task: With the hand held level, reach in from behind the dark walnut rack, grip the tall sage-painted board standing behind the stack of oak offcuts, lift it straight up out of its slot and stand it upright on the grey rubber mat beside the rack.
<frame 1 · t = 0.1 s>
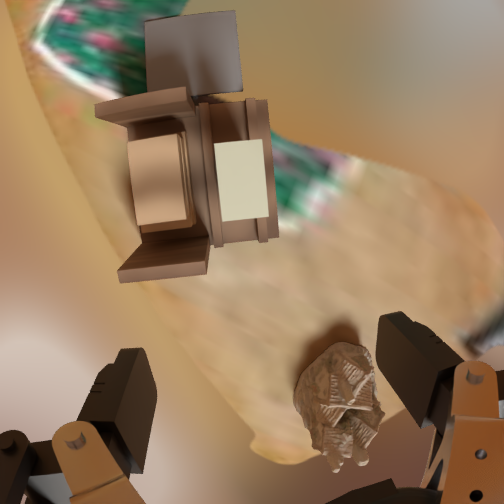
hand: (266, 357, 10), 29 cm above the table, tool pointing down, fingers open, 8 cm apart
oak offcut stack: (167, 180, 35), point 1 cm above the table, touching walnut rack
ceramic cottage: (341, 386, 48), on the table
grey mat: (192, 54, 33), on the table
walnut rack: (202, 175, 37), on the table
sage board: (233, 172, 36), point 1 cm above the table, touching walnut rack
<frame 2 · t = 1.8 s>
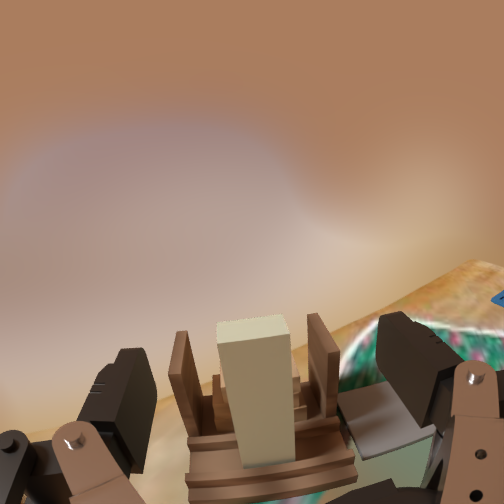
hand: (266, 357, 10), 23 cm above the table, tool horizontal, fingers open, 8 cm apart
oak offcut stack: (259, 411, 35), point 1 cm above the table, touching walnut rack
grey mat: (389, 414, 32), on the table
walnut rack: (264, 443, 31), on the table
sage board: (268, 458, 28), point 1 cm above the table, touching walnut rack
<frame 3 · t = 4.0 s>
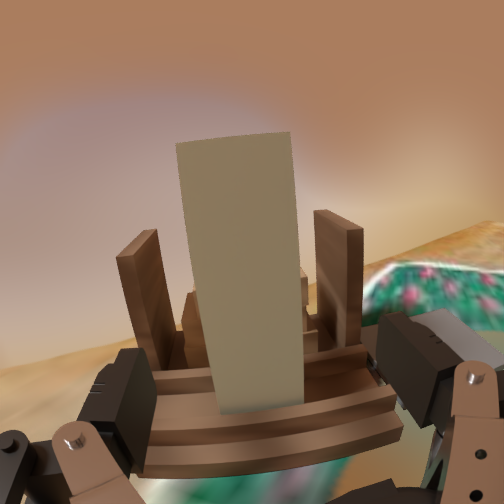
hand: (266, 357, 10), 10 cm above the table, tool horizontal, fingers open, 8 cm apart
oak offcut stack: (250, 346, 27), point 1 cm above the table, touching walnut rack
grey mat: (429, 352, 24), on the table
walnut rack: (257, 389, 23), on the table
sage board: (261, 405, 19), point 1 cm above the table, touching walnut rack
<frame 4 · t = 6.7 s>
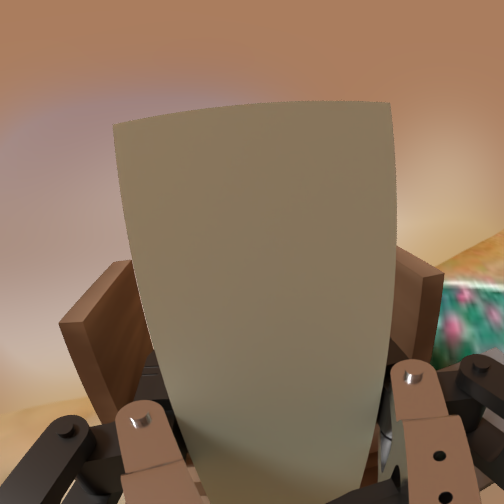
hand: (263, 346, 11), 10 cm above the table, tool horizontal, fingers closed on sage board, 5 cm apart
grey mat: (486, 411, 16), on the table
walnut rack: (276, 480, 15), on the table
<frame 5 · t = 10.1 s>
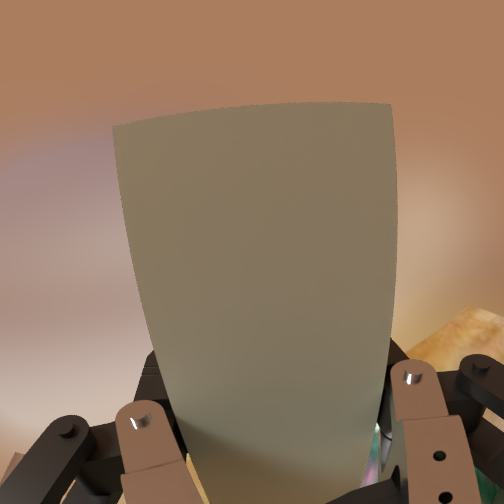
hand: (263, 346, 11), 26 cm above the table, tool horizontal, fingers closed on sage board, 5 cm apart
when the fingers open (10 cm above the table, at t = 13.9 s): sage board stays where it is, resting on grey mat.
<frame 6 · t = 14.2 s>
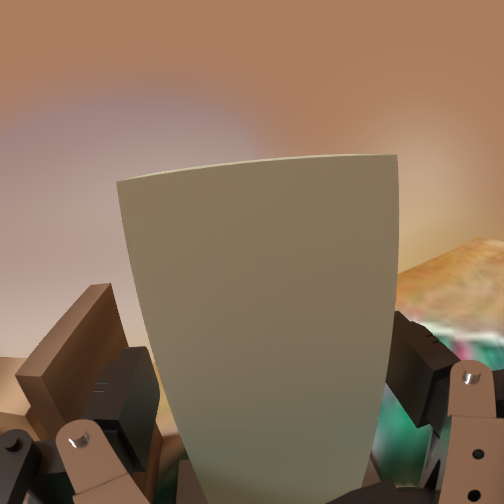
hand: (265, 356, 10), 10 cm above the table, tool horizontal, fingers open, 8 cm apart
oak offcut stack: (37, 457, 14), point 1 cm above the table, touching walnut rack
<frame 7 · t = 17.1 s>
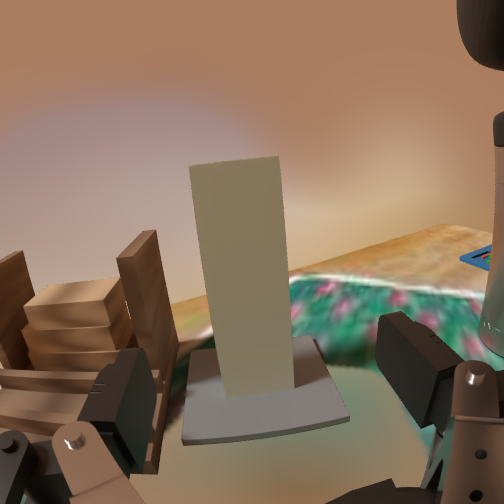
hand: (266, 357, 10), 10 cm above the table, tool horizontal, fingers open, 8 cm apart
oak offcut stack: (89, 357, 26), point 1 cm above the table, touching walnut rack
grey mat: (258, 386, 24), on the table
walnut rack: (81, 396, 23), on the table
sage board: (257, 381, 23), point 1 cm above the table, touching grey mat
handheld gaming device: (498, 260, 42), on the table
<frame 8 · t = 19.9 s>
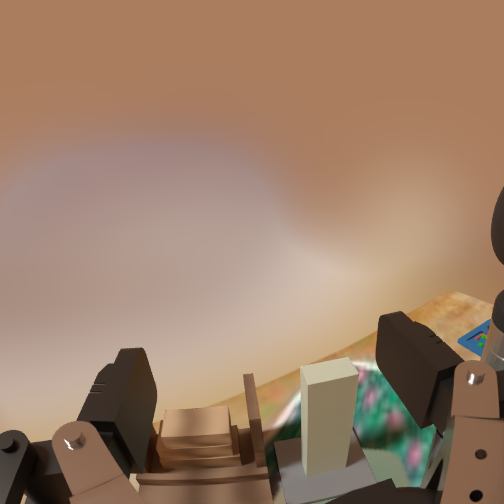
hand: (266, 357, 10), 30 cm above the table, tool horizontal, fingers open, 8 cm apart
oak offcut stack: (202, 453, 36), point 1 cm above the table, touching walnut rack
grey mat: (322, 465, 34), on the table
walnut rack: (204, 481, 33), on the table
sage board: (323, 464, 34), point 1 cm above the table, touching grey mat
handheld gaming device: (488, 339, 52), on the table
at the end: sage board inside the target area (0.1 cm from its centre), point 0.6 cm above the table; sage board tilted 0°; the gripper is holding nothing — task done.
